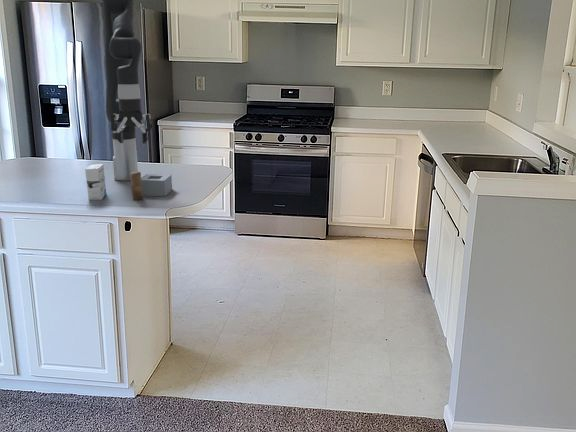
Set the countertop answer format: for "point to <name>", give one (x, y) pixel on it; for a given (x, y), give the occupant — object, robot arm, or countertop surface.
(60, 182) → the countertop surface
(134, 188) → the walnut dowel
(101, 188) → the ink box
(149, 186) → the socket block
